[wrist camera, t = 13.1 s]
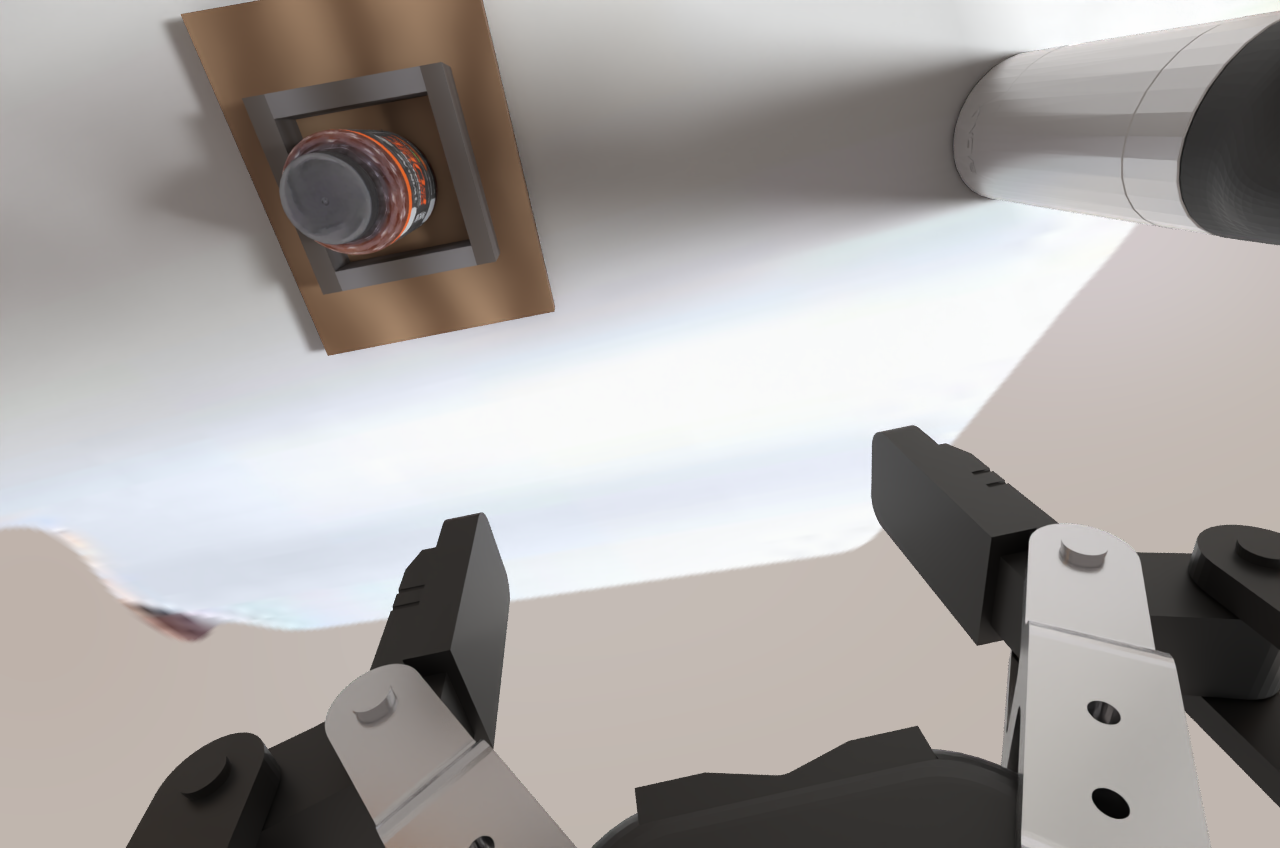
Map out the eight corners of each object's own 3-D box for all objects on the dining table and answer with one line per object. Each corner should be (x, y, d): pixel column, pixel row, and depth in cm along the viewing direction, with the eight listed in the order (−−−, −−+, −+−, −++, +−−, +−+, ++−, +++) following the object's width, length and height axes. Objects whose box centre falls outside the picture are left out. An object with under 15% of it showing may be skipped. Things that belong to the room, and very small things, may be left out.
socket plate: (475, -32, 34) (463, -52, 30) (554, 305, 43) (554, 323, 39) (195, 18, 34) (146, 4, 30) (335, 348, 43) (311, 371, 39)
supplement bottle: (460, 195, 38) (422, 219, 28) (389, 250, 39) (328, 293, 29) (391, 107, 36) (322, 99, 25) (317, 168, 37) (223, 184, 26)
